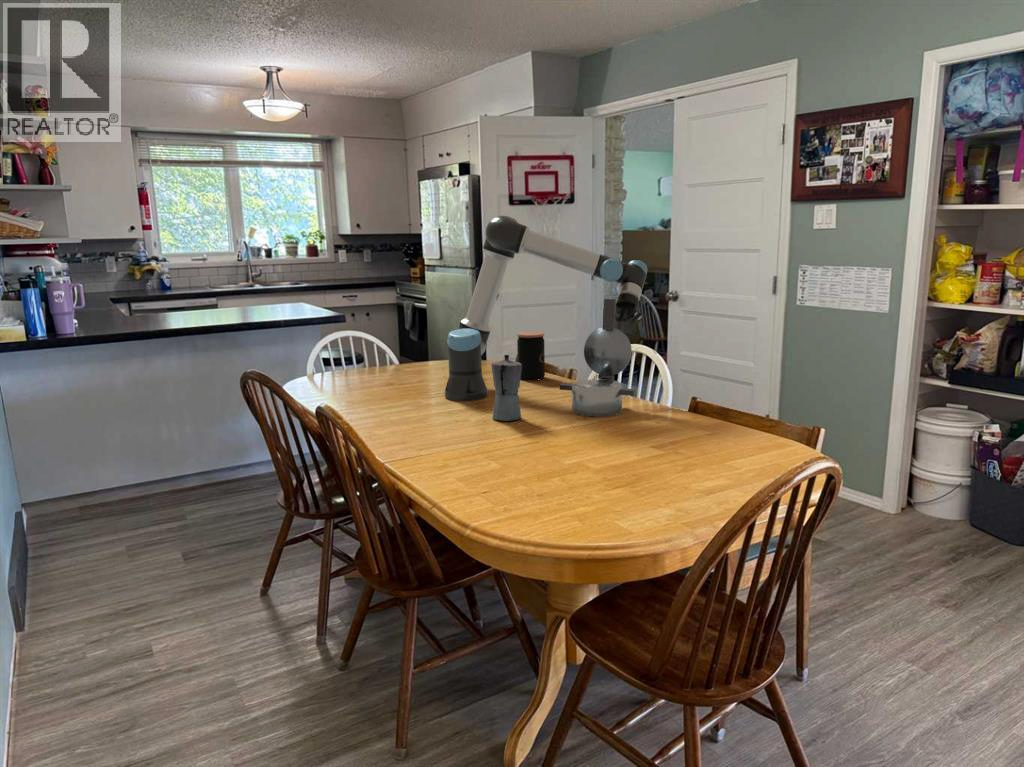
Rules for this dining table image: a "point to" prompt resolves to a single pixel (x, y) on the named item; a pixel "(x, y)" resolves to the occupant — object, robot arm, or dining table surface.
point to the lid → (607, 346)
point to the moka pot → (506, 389)
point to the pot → (597, 397)
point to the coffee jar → (531, 355)
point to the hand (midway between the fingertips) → (612, 353)
